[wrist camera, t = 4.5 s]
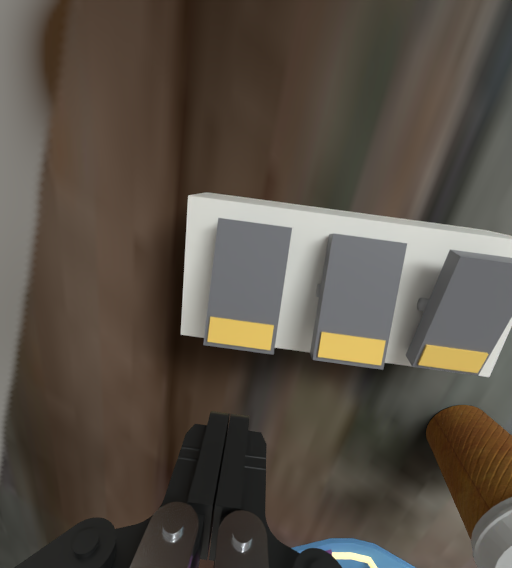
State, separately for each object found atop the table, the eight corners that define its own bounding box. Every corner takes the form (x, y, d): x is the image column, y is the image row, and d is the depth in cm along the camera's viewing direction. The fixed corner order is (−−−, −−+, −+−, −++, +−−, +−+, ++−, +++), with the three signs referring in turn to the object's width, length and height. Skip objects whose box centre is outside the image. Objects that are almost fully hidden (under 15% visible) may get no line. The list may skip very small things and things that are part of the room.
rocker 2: (329, 234, 20) (333, 233, 18) (398, 243, 20) (408, 243, 18) (309, 353, 21) (313, 360, 19) (376, 362, 21) (384, 370, 19)
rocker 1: (221, 219, 20) (218, 217, 18) (290, 229, 20) (292, 227, 18) (206, 339, 21) (202, 345, 19) (272, 348, 21) (273, 355, 19)
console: (206, 192, 25) (184, 196, 19) (485, 229, 25) (559, 246, 19) (198, 307, 29) (177, 343, 22) (444, 340, 28) (495, 387, 22)
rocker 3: (449, 249, 18) (462, 257, 17) (524, 259, 18) (542, 268, 17) (405, 355, 22) (412, 367, 21) (468, 363, 22) (479, 377, 21)
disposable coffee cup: (520, 442, 32) (660, 588, 20) (432, 477, 34) (514, 628, 22) (486, 375, 29) (621, 497, 18) (393, 416, 31) (463, 550, 20)
